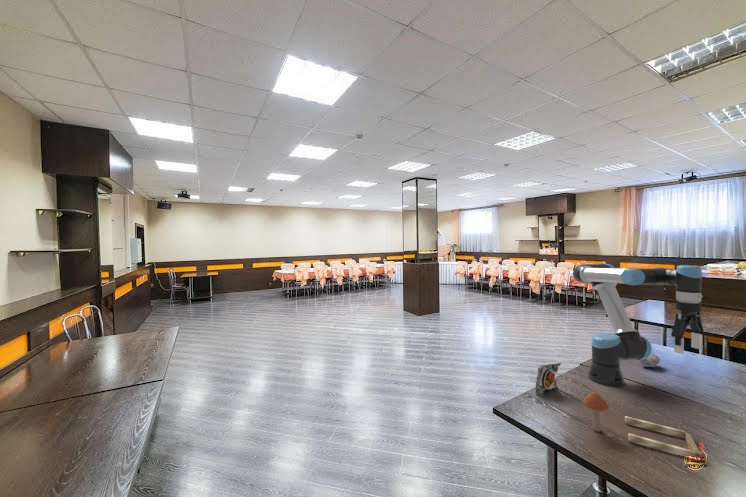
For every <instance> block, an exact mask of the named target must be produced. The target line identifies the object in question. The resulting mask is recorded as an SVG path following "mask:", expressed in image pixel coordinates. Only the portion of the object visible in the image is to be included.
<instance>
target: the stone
mask: <svg viewBox="0 0 746 497" xmlns="http://www.w3.org/2000/svg"><path fill="white" fill-rule="evenodd" d="M637 361H638V363H639V365H641V366H643V367H646V368H647V367H648V368H656V367H657V366H658V365H659V363H660V361H661V358H660V357H659V356H658V355H656V354H654V353H652V352H651V353H650V356H649V357H648V358H646V359H641V360H637Z"/></svg>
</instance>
